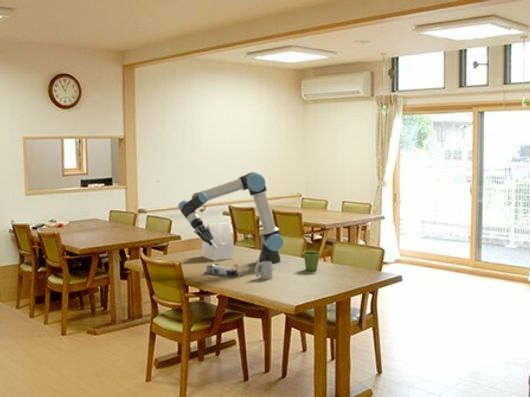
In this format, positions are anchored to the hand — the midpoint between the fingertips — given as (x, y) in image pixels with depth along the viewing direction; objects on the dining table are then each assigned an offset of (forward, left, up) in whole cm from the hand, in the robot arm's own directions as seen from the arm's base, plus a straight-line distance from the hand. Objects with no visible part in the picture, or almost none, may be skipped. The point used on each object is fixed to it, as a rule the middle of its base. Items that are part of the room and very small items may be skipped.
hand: (215, 248), depth 389 cm
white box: (-22, -46, -16) cm, 53 cm away
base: (-3, +6, -16) cm, 17 cm away
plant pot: (-59, +21, -16) cm, 65 cm away
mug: (-20, +27, -16) cm, 38 cm away
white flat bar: (-3, +5, -13) cm, 14 cm away
